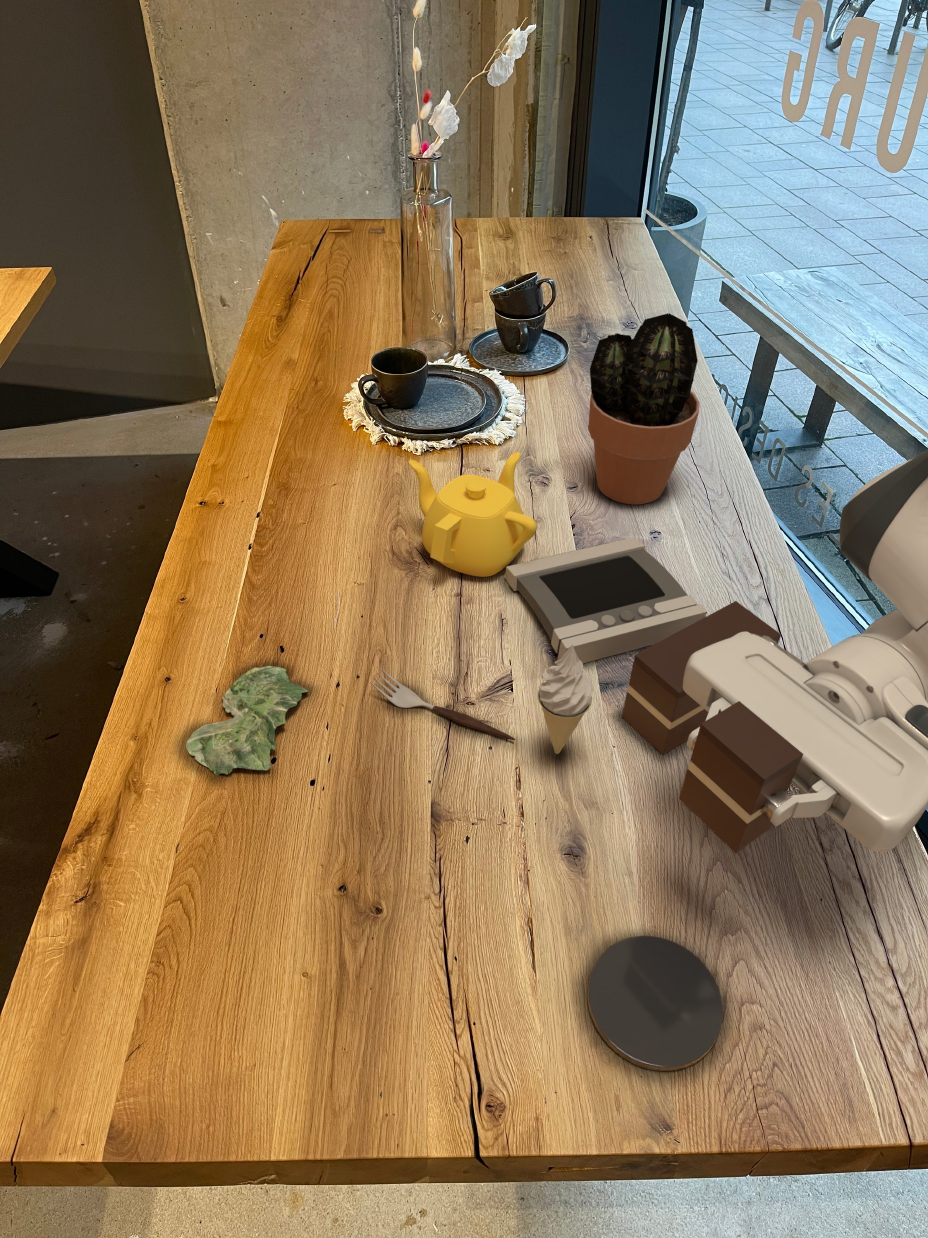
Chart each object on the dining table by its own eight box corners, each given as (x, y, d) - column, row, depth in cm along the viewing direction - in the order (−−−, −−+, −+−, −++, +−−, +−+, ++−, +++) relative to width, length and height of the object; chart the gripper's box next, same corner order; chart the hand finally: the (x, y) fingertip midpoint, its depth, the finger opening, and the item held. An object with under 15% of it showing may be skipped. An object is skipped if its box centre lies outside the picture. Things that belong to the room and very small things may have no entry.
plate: (702, 937, 76) (704, 933, 75) (736, 1068, 68) (739, 1064, 68) (578, 942, 75) (579, 938, 75) (598, 1075, 68) (599, 1070, 67)
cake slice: (714, 775, 73) (739, 700, 67) (771, 828, 70) (803, 754, 64) (678, 799, 71) (700, 723, 65) (735, 854, 68) (764, 779, 62)
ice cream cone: (527, 767, 88) (538, 658, 78) (536, 728, 92) (549, 619, 82) (578, 777, 88) (597, 669, 77) (586, 738, 91) (605, 629, 81)
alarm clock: (565, 648, 96) (506, 547, 106) (560, 676, 99) (503, 575, 109) (707, 611, 100) (637, 518, 110) (697, 639, 104) (630, 546, 114)
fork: (509, 752, 90) (510, 739, 88) (369, 695, 95) (368, 682, 93) (520, 734, 91) (521, 721, 90) (382, 679, 96) (381, 666, 95)
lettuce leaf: (264, 786, 86) (262, 776, 85) (172, 766, 87) (169, 756, 86) (320, 674, 97) (318, 664, 96) (237, 658, 98) (234, 647, 97)
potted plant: (656, 452, 130) (689, 279, 113) (698, 508, 120) (741, 327, 103) (565, 465, 127) (585, 289, 110) (601, 522, 117) (629, 339, 100)
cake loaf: (717, 662, 99) (735, 600, 93) (759, 696, 96) (781, 634, 90) (621, 716, 93) (634, 654, 87) (662, 755, 90) (679, 693, 84)
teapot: (515, 513, 118) (519, 447, 112) (539, 579, 109) (546, 511, 102) (409, 522, 117) (408, 456, 110) (424, 591, 107) (424, 522, 100)
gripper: (761, 599, 77) (639, 664, 71) (982, 759, 65) (858, 854, 59) (744, 652, 81) (628, 718, 75) (948, 811, 69) (829, 905, 63)
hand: (730, 779), depth 67 cm, fingers closed on cake slice, 6 cm apart
